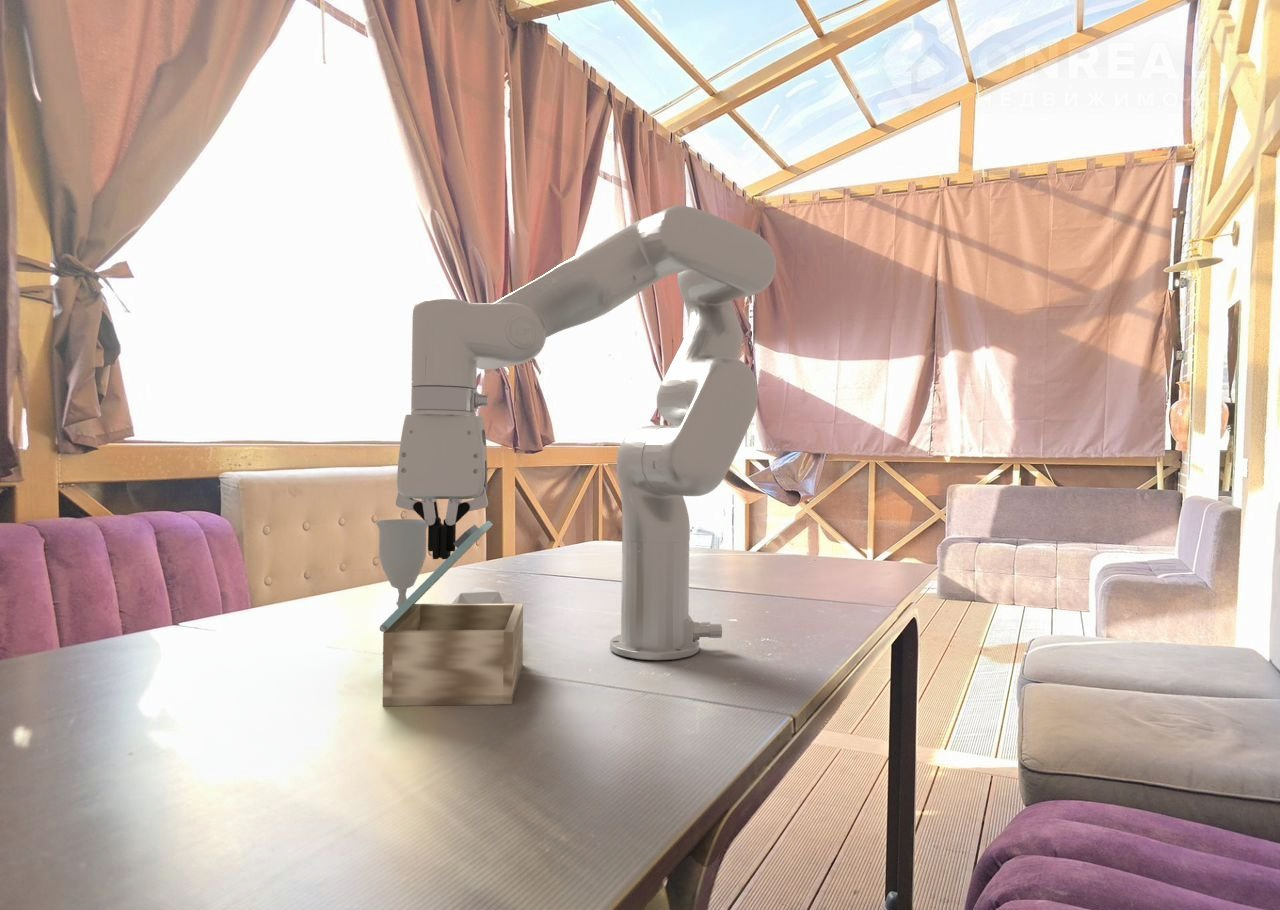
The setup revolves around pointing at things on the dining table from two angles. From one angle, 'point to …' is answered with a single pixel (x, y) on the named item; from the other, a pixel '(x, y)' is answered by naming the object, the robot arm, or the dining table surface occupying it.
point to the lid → (439, 571)
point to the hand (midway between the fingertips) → (441, 557)
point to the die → (479, 597)
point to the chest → (453, 655)
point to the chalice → (402, 552)
